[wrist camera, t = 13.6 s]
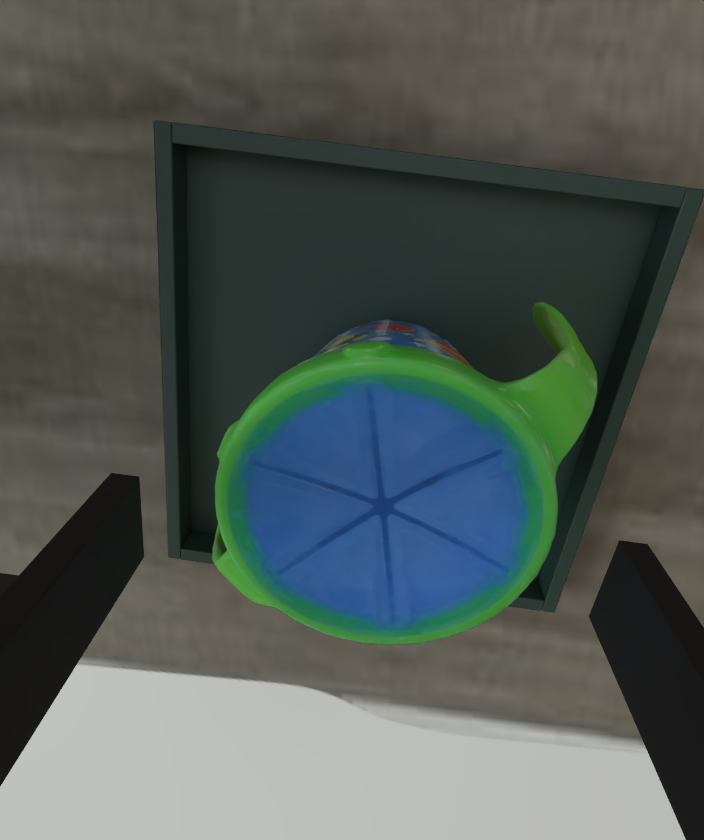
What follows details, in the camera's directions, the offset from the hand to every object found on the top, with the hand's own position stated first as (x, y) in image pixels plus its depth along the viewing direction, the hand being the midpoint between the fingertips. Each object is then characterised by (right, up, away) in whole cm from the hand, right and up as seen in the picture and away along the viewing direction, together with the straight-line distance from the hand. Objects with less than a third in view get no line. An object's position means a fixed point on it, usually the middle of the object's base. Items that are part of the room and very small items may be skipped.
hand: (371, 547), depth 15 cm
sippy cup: (+1, +5, +11) cm, 12 cm away
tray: (+1, +5, +11) cm, 12 cm away
